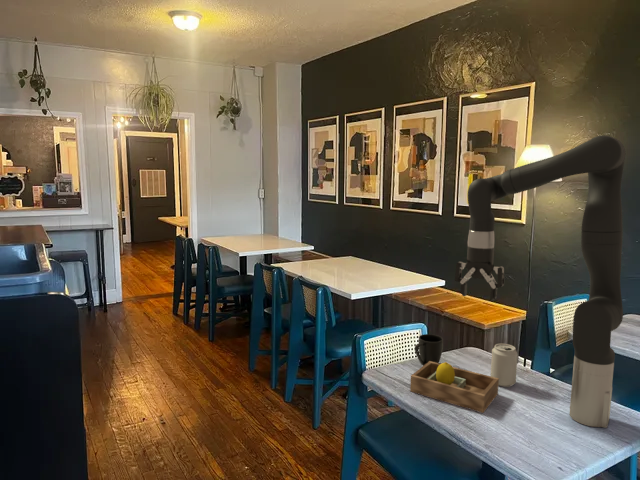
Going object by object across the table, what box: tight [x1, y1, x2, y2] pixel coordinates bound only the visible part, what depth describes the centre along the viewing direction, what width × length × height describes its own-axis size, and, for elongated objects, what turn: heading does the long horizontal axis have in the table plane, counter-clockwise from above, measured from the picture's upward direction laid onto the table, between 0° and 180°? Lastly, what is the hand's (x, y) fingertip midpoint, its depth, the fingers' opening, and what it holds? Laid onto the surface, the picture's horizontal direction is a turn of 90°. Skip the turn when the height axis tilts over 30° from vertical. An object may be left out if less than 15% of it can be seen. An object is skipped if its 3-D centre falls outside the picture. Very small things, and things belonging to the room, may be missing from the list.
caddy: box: [409, 361, 499, 414], centre depth 143 cm, size 22×14×5 cm, turn 54°
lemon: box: [436, 361, 455, 385], centre depth 145 cm, size 6×6×8 cm
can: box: [490, 343, 519, 388], centre depth 150 cm, size 8×8×12 cm
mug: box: [414, 333, 444, 367], centre depth 163 cm, size 8×12×10 cm
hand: (478, 297), depth 145 cm, fingers open, 8 cm apart
